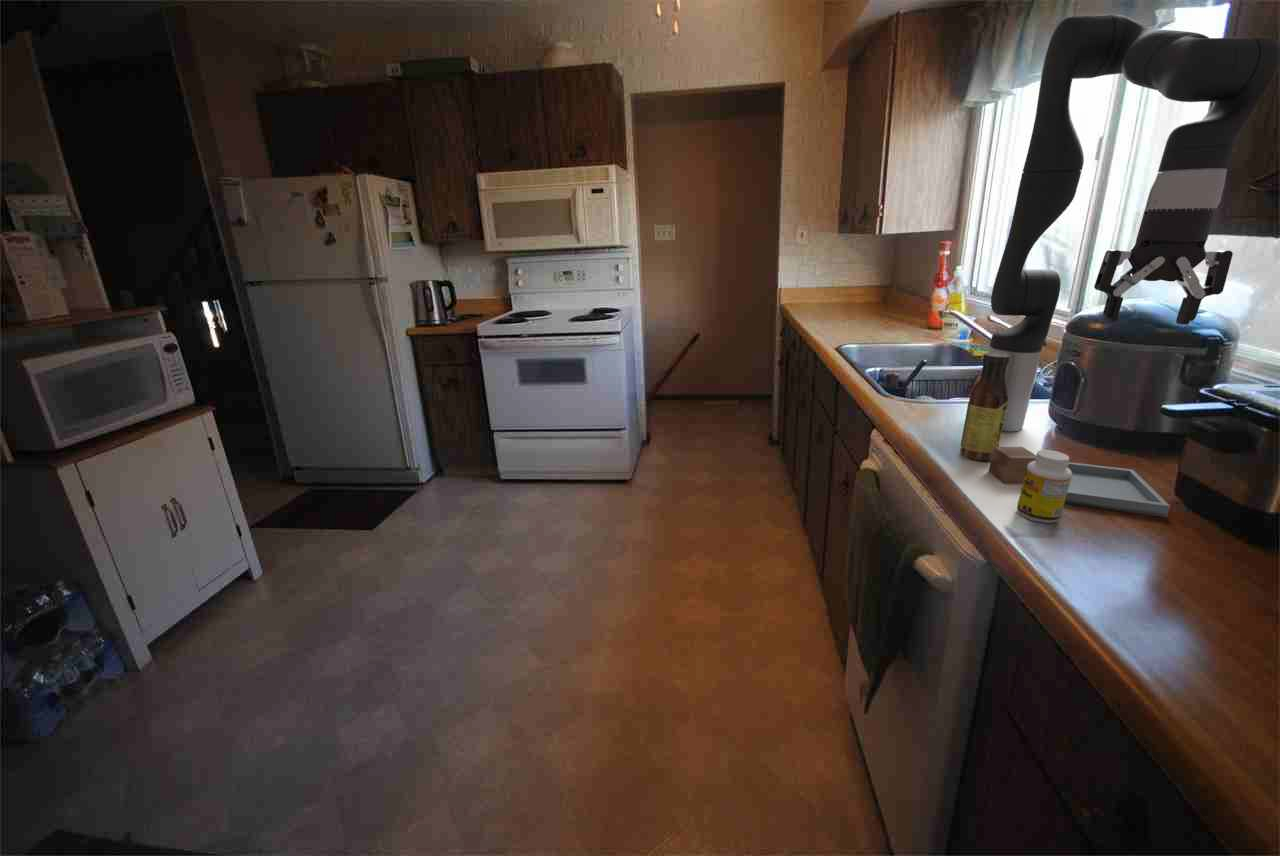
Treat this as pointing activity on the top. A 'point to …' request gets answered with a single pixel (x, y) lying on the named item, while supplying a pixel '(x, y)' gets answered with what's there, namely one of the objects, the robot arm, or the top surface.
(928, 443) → the top surface
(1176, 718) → the top surface
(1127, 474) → the tray
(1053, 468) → the supplement bottle
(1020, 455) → the walnut block
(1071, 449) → the top surface
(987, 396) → the sauce bottle
